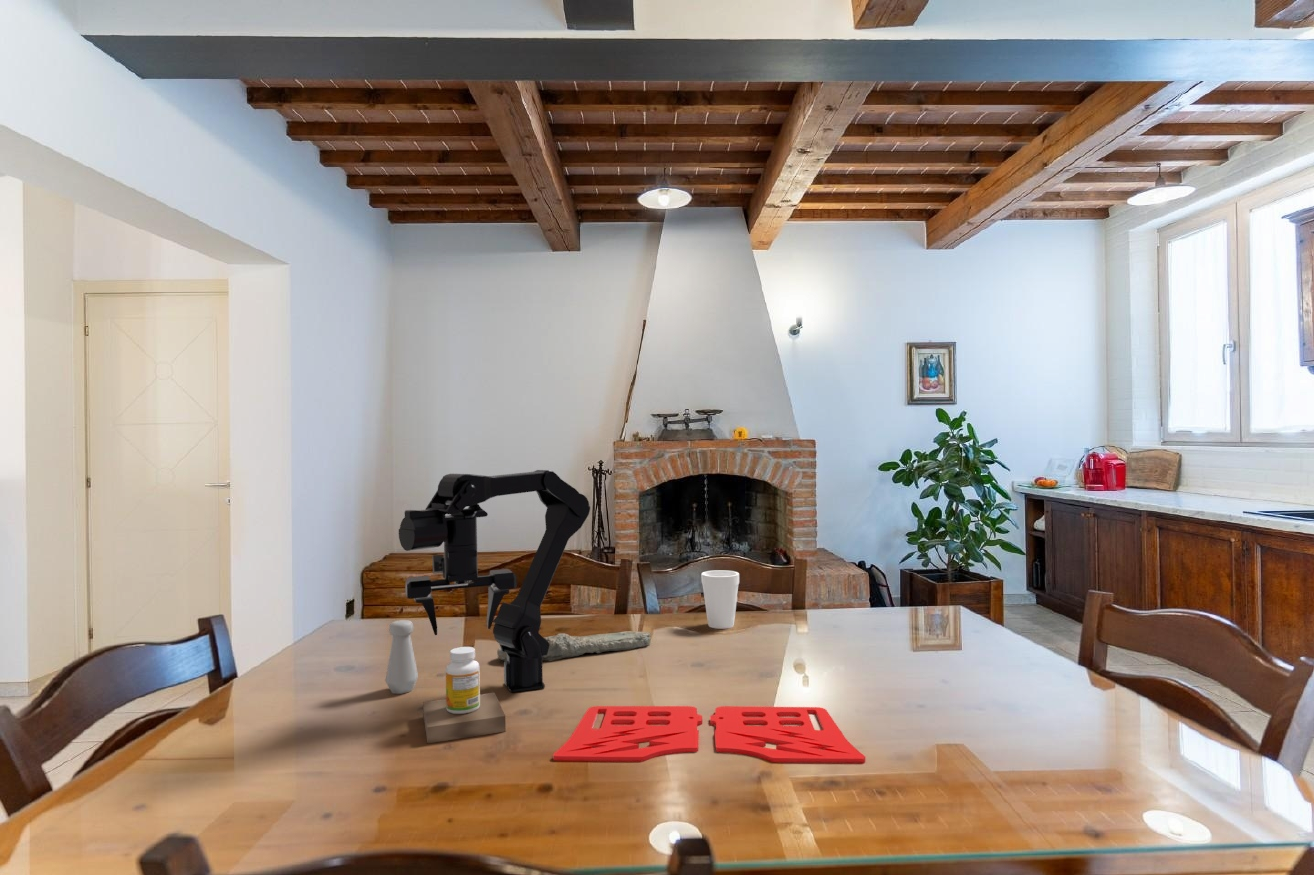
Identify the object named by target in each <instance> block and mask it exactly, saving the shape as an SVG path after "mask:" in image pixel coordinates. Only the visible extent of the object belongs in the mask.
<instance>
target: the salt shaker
mask: <svg viewBox="0 0 1314 875" xmlns="http://www.w3.org/2000/svg"><path fill="white" fill-rule="evenodd" d="M413 631H414V624H413V622H412V621H411V620H407V619H400V620H395V621H393V622H391V623H390V624H389V628H388V632H389V635H390V636H392V638H391V639H392V640H391V646H390V651H389V658H388V663H387V671H386V675H385V680H384V681H385V684H386V685H387V687H388V688H389V691H390V692H391V694H393V695H394V694H398V695H401V694H406V693H410V692H412V691H413V690H414V689H415V685H416V683H417V681H418V676H419V674H418V668H417V667H418V666H417V662H416V658H415V653H414V648H413V642H412V638H411V637H412V636H411V634H412V633H413Z"/></svg>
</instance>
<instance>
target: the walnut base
mask: <svg viewBox="0 0 1314 875" xmlns="http://www.w3.org/2000/svg"><path fill="white" fill-rule="evenodd" d="M422 718H423V725H424V731H425V737H426V743H427V744H435V743H441V742H446V741H453V740H458V739H459V740H460V739H467V738H472V737H479V736H485V735H486V736H487V735H491V734H498V733H505V732H506V731H507V729H506V728H507V726H506V725H507V724H506V714H505V712H504V710H503V708H502V706H501V703H500V701H499V699H498V696H497V695H496V693H495V692H489V693H482V694H481V693H480V707H479V708H478V709H477V710H475V711H473V712H470V713H465V714H453V713H450V712H448V711H447V708H446V698H444V699H437V700H430V701H428V700H427V701H422Z"/></svg>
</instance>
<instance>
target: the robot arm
mask: <svg viewBox="0 0 1314 875" xmlns="http://www.w3.org/2000/svg"><path fill="white" fill-rule="evenodd" d="M531 492H536V494H537V496H538V498H539V500H540V502H541V503H542V505H544V506H545V507H546V511H545V515H544V520H545V532H544V534H543V536H542V538H541V540H540V543H539V546H538V547H537V550H536V552H535V554H534V556H533V559H532V561H531V563H530V566H529V568H528V571H527V572H526V575H525V577H524V580H523V582H522V584H521V586H520V588H519V591H518V593H517V596H516V597H515V598H514V599H513V600H512V601H511V602H509V603H508V602H502V600H503V598H504V596H505V595H509V594H510V590H514V589H517V588H518V585H517V584H518V583H517V581H518V580H517V575H516V574H515V573H514V572H513V571H511V569H509V568H502V569H492V570H489V574H487V575H478V573H479V570H478V569H479V568H478V566H479V565H478V563H479V562H478V525H477V522H478V521H477V519H478V518H486V517H487V516H488V512H487V511H485V510H484V509H483V508H482V507H481V506H480V504H481V503H484V502H486V501H489V500H490V499H492V498H495V497H499V496H507V495H515V494H523V493H531ZM466 507H467V508H466ZM590 511H591V505H590V502H589V500H588V498H587V496H586V495H584V494H582V493H580V492H579V491H578V490H577V489H576V488H575V487H574V486H572V485H570V484H569V483H567V482H566V481H565V480H563V479H562V478H561V477H560V476H559V475H558V474H557V473H556V472H555V471H553V470H551V469H550V470H549V469H536V470H534V471H527V472H519V473H517V472H515V473H508V474H498V475H489V476H488V475H482V474H473V473H472V474H470V473H448V474H445V475H443V476H442V478H441V479H440V481H439V483H438V485H437V490H436V492H435V493H434V495H433V497H432V498H431V500H430V501H429V502H428V505H426V508H425V509H418V510H417V509H406V510H404V517H403V518H402V520H401V523H400V525H399V529H398V539H399V543H400V545H401V547H402V548H403V550H404V551H406V552H409V551H416V550H424V549H425V550H426V549H432V548H433V549H434V548H439V547H441V546H442V545H443V554H433V555H432V557H431V559H432V573H433V574H434V575H436V574H442V579H434V580H433V579H432V580H431V578H430V576H429V575H422V576H421V575H420V576H411V577H408V578H407V579H406V580H405V585H404V586H405V595H406V599H410V600H412V599H413V600H414V602H415V604H421V605H422V606H423V608H424V610H425V613H426V614H427V616H428V617H427V618H428V619H429V620H428V621H429V622H430V626H431V629H432V631H433V634H434V636H437V635H438V623H437V615H436V608H435V603H434V598H433V596H432V592H436V591H446V590H457V589H468V588H478V587H480V588H481V587H487V588H488V590H487V591H488V598H487V599H488V600H487V611H486V612H487V615H486V628H487V630H491V627H492V625H493V624H494V625H493V628H492V634H493V636H494V640H495V641H496V642H497V644H499V648H500V647H501V650H502V651H503V652H507V661H503V679H504V680H503V683H504V685H505V686H506V687H507V688H508V691H509V692H510V693H516V692H524V691H531V690H539V689H544V688H546V684H545V683H544V682H543V679H544V678H543V661H542V656H544V655H547V653H548V650H549V646H550V644H549V642H548V641H546V640H545V639H544V638H543V637H544V636H542V635H541V634H540V633H539V632H540V629H541V625H542V614H541V613H542V612H541V606H542V604H543V601H544V599H545V596H546V594H547V592H548V589H549V588H550V585H551V582H552V579H553V577H554V575H555V573H556V570H557V568H558V566H559V563H560V561H561V558H562V556H563V554H564V551H565V549H566V547H567V545H568V542H569V540H570V539H571V538H572V536H573V535H575V534H576V533H577V532H578V531H579V530H580V529H581V528H582V527H583V525H584V523H585V521H587V518H588V517H589V515H590ZM501 602H502V603H501ZM499 606H500V607H499ZM498 609H499V610H498ZM497 611H498V613H497ZM496 614H497V615H496Z"/></svg>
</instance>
